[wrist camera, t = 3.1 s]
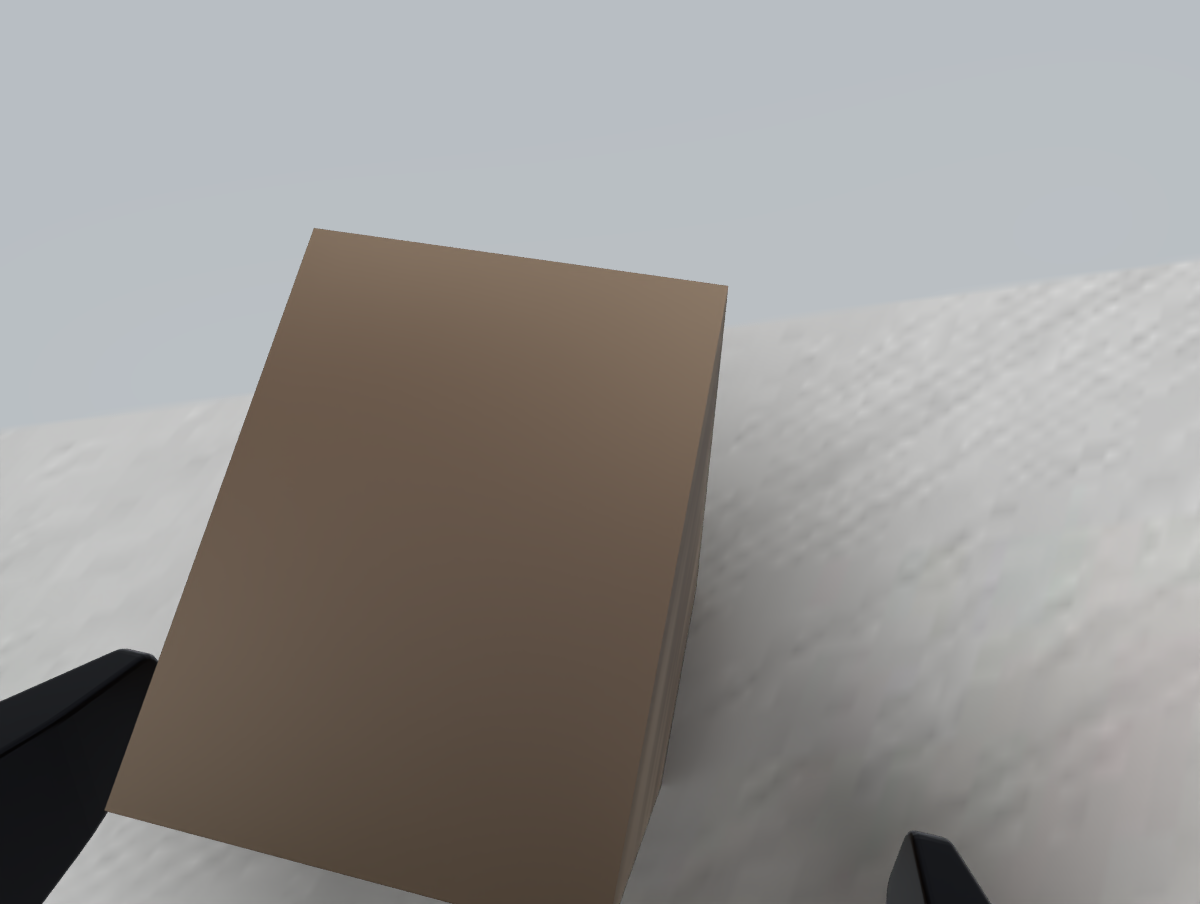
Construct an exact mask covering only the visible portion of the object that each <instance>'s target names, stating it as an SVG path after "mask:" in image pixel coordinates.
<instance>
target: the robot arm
mask: <svg viewBox="0 0 1200 904" xmlns="http://www.w3.org/2000/svg"><path fill="white" fill-rule="evenodd" d="M157 663H158V660H157V659H156V658H155V657H154V656H153V655H151V654H149V653H144V652H140V651H136V650H131V649H119V650H116V651H113V652H111V653H109V654H106V655H104V656H102V657H100V658H97V659H95V660H93V661H91V662H88V663H86V664H84V665H82V666H79V667H77V668H75V669H73V670H70V671H68V672H66V673H64V674H61V675H59V676H57V677H55V678H52V679H50V680H48V681H46V682H43V683H41V684H39V685H37V686H34V687H32V688H30V689H27V690H25V691H23V692H21V693H18V694H16V695H14V696H12V697H9V698H7V699H5V700H3V701H0V904H42V903H43V902H44V901H45V899H46V898H47V897H48V895H49V894H50V893H51V891H52V890H53V889H54V887H55V886H56V885H57V883H58V882H59V881H60V879H61V878H62V877H63V875H64V874H65V873H66V871H67V870H68V869H69V867H70V866H71V865H72V863H73V862H74V861H75V859H76V858H77V857H78V855H79V854H80V852H81V851H82V850H83V848H84V847H85V845H86V844H87V843H88V841H89V840H90V838H91V837H92V836H93V834H94V832H95V831H96V829H97V828H98V826H99V825H100V823H101V822H102V820H103V819H104V817H105V816H106V814H107V811H104V810H105V808H106V805H107V802H108V799H109V796H110V794H111V791H112V788H113V785H114V783H115V780H116V777H117V774H118V771H119V769H120V766H121V763H122V760H123V758H124V755H125V752H126V749H127V746H128V744H129V741H130V738H131V735H132V733H133V730H134V727H135V724H136V721H137V719H138V716H139V713H140V710H141V708H142V705H143V702H144V699H145V696H146V694H147V691H148V688H149V685H150V683H151V680H152V677H153V674H154V671H155V669H156V666H157ZM886 904H991V903H990V901H989V900H988V898H987V897H986V895H985V893H984V892H983V890H982V889H981V887H980V886H979V884H978V883H977V881H976V879H975V878H974V876H973V875H972V873H971V872H970V870H969V868H968V867H967V865H966V864H965V862H964V861H963V859H962V858H961V856H960V854H959V853H958V851H957V850H956V848H955V847H954V845H953V844H952V843H951V842H950V841H949V840H948V839H946V838H944V837H940V836H936V835H932V834H928V833H923V832H919V831H910V832H909V833H908V834H907V835H906V836H905V838H904V841H903V843H902V846H901V849H900V851H899V854H898V856H897V859H896V862H895V864H894V867H893V869H892V872H891V875H890V878H889V882H888V887H887V898H886Z"/></svg>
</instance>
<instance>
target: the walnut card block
mask: <svg viewBox="0 0 1200 904" xmlns="http://www.w3.org/2000/svg"><path fill="white" fill-rule="evenodd" d="M727 293H728V286H724V285H717V284H710V283H703V282H696V281H688V280H681V279H674V278H667V277H660V276H652V275H646V274H638V273H631V272H624V271H617V270H610V269H603V268H596V267H588V266H581V265H574V264H566V263H560V262H552V261H546V260H538V259H531V258H524V257H517V256H509V255H503V254H495V253H488V252H481V251H474V250H467V249H460V248H453V247H445V246H438V245H431V244H424V243H417V242H409V241H403V240H395V239H388V238H381V237H374V236H367V235H359V234H352V233H345V232H338V231H330V230H324V229H316V228H314V229H313V232H312V235H311V238H310V241H309V243H308V246H307V249H306V252H305V254H304V257H303V260H302V263H301V266H300V269H299V271H298V274H297V277H296V279H295V283H294V285H293V288H292V291H291V294H290V297H289V299H288V302H287V304H286V307H285V310H284V313H283V316H282V318H281V321H280V324H279V327H278V330H277V333H276V335H275V338H274V341H273V343H272V347H271V349H270V352H269V355H268V357H267V360H266V363H265V366H264V368H263V371H262V374H261V377H260V380H259V382H258V385H257V388H256V391H255V393H254V396H253V399H252V402H251V405H250V407H249V410H248V413H247V416H246V418H245V421H244V424H243V427H242V430H241V432H240V435H239V438H238V441H237V443H236V446H235V449H234V452H233V455H232V457H231V460H230V463H229V466H228V468H227V471H226V474H225V477H224V480H223V482H222V485H221V488H220V491H219V493H218V496H217V499H216V502H215V505H214V507H213V510H212V513H211V516H210V519H209V521H208V524H207V527H206V530H205V532H204V535H203V538H202V541H201V544H200V546H199V549H198V552H197V555H196V557H195V560H194V563H193V566H192V569H191V571H190V574H189V577H188V580H187V582H186V585H185V588H184V591H183V594H182V596H181V599H180V602H179V605H178V607H177V610H176V613H175V616H174V619H173V621H172V624H171V627H170V630H169V632H168V635H167V638H166V641H165V644H164V646H163V649H162V652H161V655H160V657H159V660H158V663H157V666H156V669H155V671H154V674H153V677H152V680H151V683H150V685H149V688H148V691H147V694H146V696H145V699H144V702H143V705H142V708H141V710H140V713H139V716H138V719H137V721H136V724H135V727H134V730H133V733H132V735H131V738H130V741H129V744H128V746H127V749H126V752H125V755H124V758H123V760H122V763H121V766H120V769H119V771H118V774H117V777H116V780H115V783H114V785H113V788H112V791H111V794H110V796H109V799H108V802H107V805H106V808H105V810H104V811H107V812H111V813H115V814H119V815H122V816H126V817H130V818H134V819H137V820H141V821H145V822H149V823H152V824H156V825H160V826H164V827H167V828H171V829H175V830H179V831H182V832H186V833H190V834H194V835H197V836H201V837H205V838H209V839H212V840H216V841H220V842H224V843H227V844H231V845H235V846H239V847H242V848H246V849H250V850H254V851H257V852H261V853H265V854H269V855H272V856H276V857H280V858H284V859H287V860H291V861H295V862H299V863H302V864H306V865H310V866H314V867H317V868H321V869H325V870H329V871H332V872H336V873H340V874H344V875H347V876H351V877H355V878H359V879H362V880H366V881H370V882H374V883H377V884H381V885H385V886H389V887H392V888H396V889H400V890H404V891H407V892H411V893H415V894H419V895H422V896H426V897H430V898H434V899H437V900H441V901H445V902H449V903H452V904H620V902H621V899H622V896H623V893H624V890H625V887H626V885H627V882H628V879H629V876H630V873H631V870H632V867H633V865H634V862H635V859H636V856H637V853H638V850H639V847H640V845H641V842H642V839H643V836H644V833H645V830H646V827H647V825H648V822H649V819H650V816H651V813H652V810H653V807H654V805H655V802H656V799H657V796H658V793H659V790H660V787H661V782H662V777H663V771H664V766H665V760H666V754H667V749H668V743H669V737H670V732H671V726H672V721H673V715H674V709H675V704H676V698H677V693H678V687H679V681H680V676H681V670H682V664H683V659H684V653H685V648H686V642H687V636H688V631H689V625H690V619H691V614H692V608H693V603H694V597H695V591H696V586H697V576H698V567H699V558H700V548H701V539H702V529H703V520H704V510H705V501H706V492H707V482H708V473H709V463H710V454H711V444H712V435H713V426H714V416H715V407H716V397H717V388H718V378H719V369H720V360H721V350H722V341H723V331H724V322H725V312H726V303H727Z"/></svg>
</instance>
